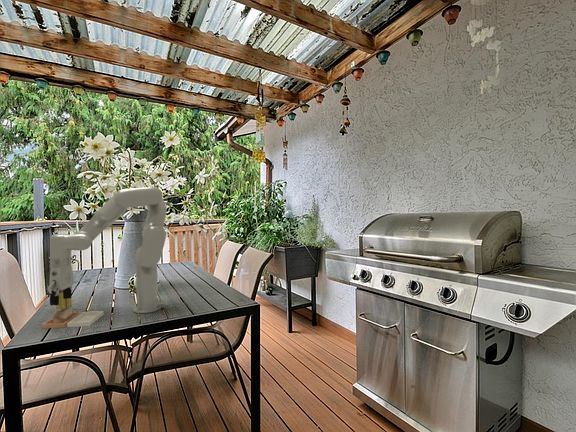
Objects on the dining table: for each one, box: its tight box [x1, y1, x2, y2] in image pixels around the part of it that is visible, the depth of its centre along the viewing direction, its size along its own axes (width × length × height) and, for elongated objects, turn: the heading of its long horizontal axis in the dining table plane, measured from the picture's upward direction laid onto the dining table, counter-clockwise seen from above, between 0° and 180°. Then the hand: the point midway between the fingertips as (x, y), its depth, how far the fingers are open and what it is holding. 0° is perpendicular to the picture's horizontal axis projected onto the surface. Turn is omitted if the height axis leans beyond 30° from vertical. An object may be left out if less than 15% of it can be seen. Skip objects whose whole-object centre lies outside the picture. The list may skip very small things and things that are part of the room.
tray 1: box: [41, 311, 83, 329], centre depth 138 cm, size 8×14×2 cm, turn 8°
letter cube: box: [52, 307, 73, 323], centre depth 138 cm, size 5×5×5 cm
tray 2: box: [66, 310, 105, 328], centre depth 139 cm, size 8×14×2 cm, turn 8°
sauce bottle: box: [55, 289, 73, 311], centre depth 152 cm, size 7×6×20 cm
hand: (61, 301), depth 137 cm, fingers open, 9 cm apart
